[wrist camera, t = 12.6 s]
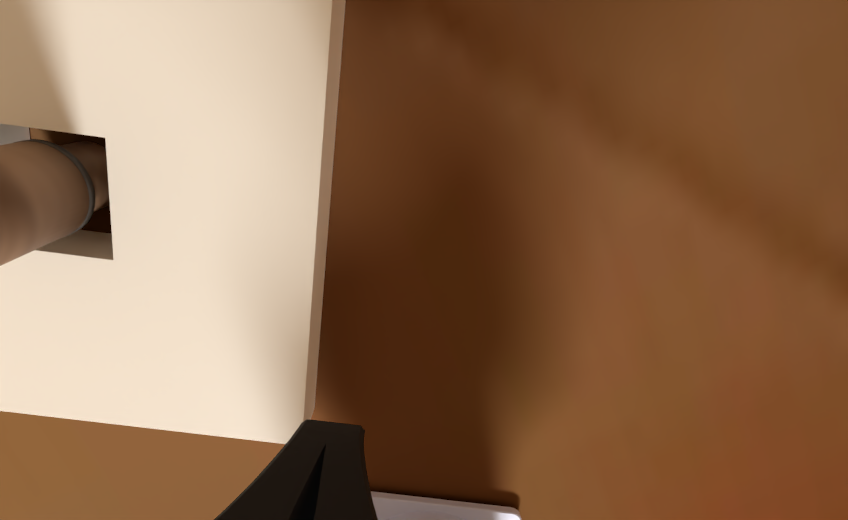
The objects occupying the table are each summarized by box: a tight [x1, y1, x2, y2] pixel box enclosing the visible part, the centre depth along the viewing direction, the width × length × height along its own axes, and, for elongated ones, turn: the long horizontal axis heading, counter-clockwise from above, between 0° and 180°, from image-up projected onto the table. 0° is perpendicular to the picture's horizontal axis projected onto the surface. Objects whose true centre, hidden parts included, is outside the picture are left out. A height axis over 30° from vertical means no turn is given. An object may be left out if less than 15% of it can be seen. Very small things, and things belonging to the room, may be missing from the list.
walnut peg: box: [0, 139, 110, 266], centre depth 16 cm, size 3×3×8 cm
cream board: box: [0, 0, 346, 444], centre depth 19 cm, size 18×18×2 cm
